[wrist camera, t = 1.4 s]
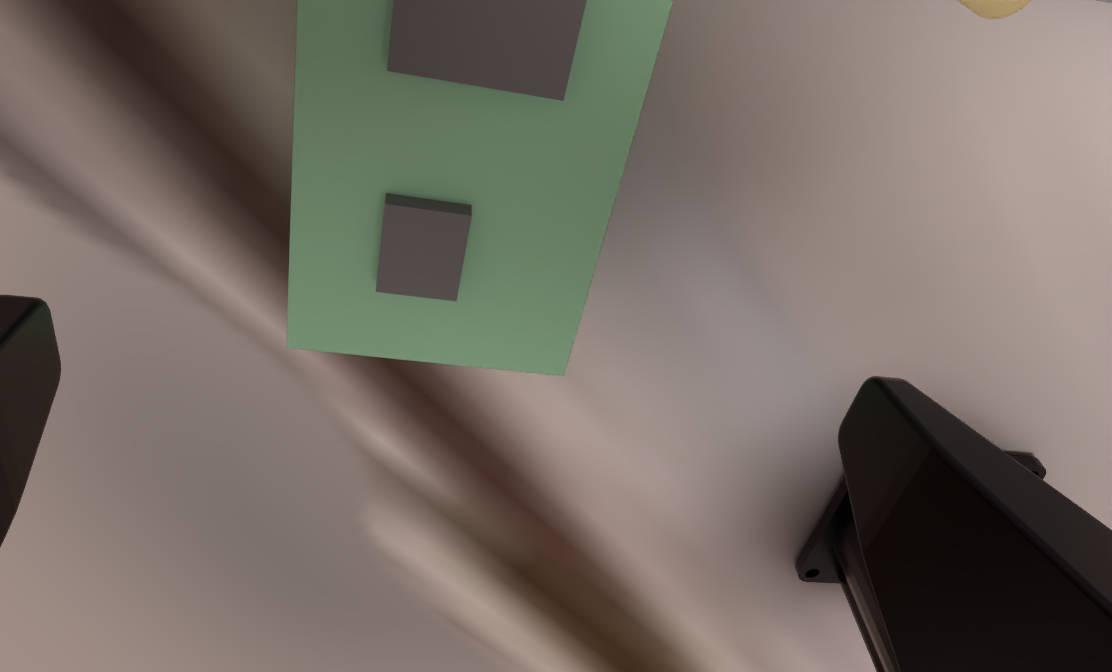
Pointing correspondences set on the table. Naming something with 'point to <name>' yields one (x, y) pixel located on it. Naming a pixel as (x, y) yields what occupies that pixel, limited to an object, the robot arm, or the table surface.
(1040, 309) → the table surface
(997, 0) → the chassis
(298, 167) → the board
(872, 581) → the robot arm
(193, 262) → the table surface
